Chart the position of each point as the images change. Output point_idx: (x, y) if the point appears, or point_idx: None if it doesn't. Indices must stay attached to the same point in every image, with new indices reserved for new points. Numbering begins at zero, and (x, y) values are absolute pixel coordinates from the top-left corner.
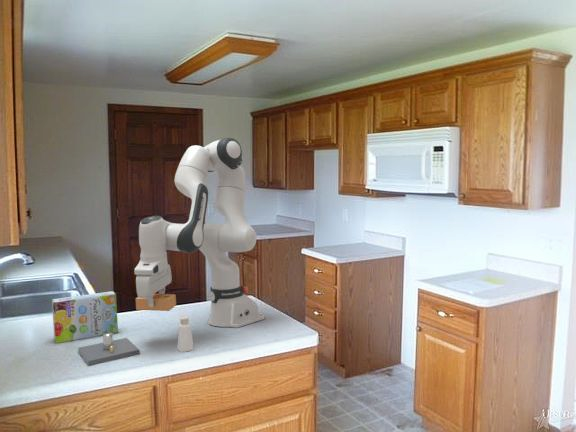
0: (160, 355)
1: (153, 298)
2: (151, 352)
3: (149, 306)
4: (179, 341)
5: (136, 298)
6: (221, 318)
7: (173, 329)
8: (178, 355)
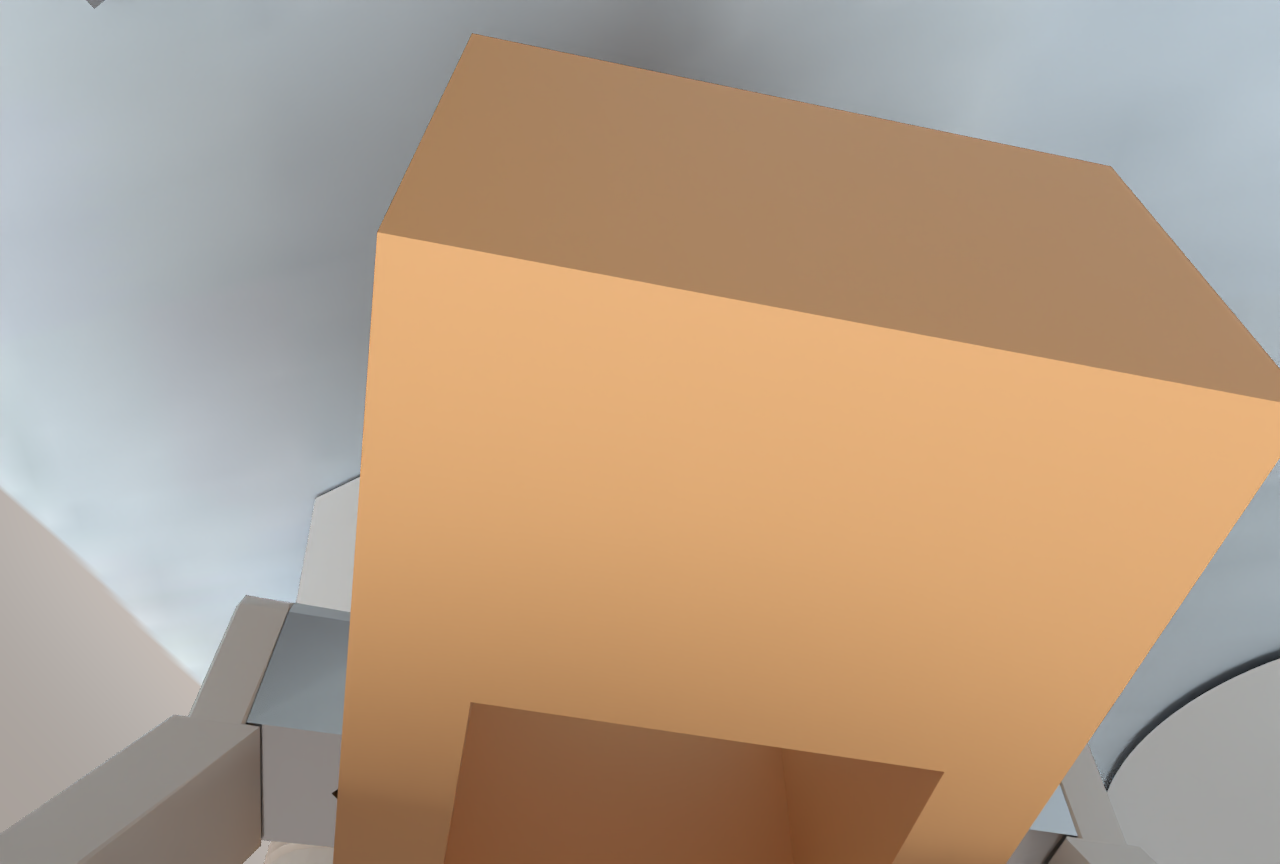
0: (144, 311)
1: (404, 861)
2: (230, 162)
3: (249, 610)
4: (307, 586)
5: (401, 280)
6: (1183, 845)
7: (1267, 257)
8: (192, 506)
